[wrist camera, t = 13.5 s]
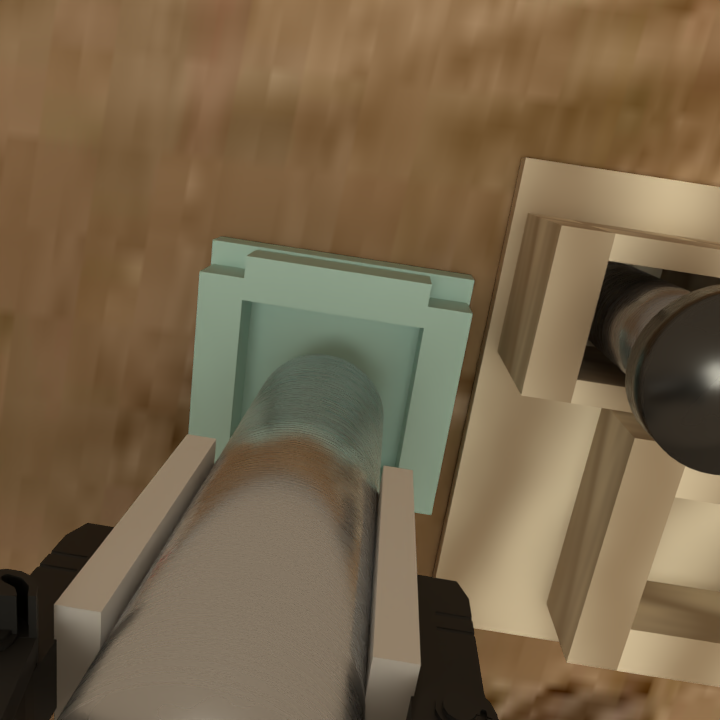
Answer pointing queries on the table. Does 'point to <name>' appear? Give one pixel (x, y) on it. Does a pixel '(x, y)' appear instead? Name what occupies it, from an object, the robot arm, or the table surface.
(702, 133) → the table surface
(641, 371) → the black mushroom head peg
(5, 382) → the table surface
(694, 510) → the socket block
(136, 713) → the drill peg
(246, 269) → the tray
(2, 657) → the robot arm
